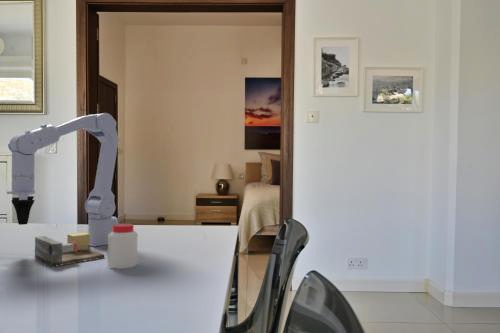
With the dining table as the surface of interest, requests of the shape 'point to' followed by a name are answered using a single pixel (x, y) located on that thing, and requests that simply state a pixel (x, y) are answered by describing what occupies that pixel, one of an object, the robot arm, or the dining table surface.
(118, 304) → the dining table surface
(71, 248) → the gauge plunger
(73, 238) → the carriage
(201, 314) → the dining table surface
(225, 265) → the dining table surface
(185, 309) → the dining table surface
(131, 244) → the pill bottle
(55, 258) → the rail bed
